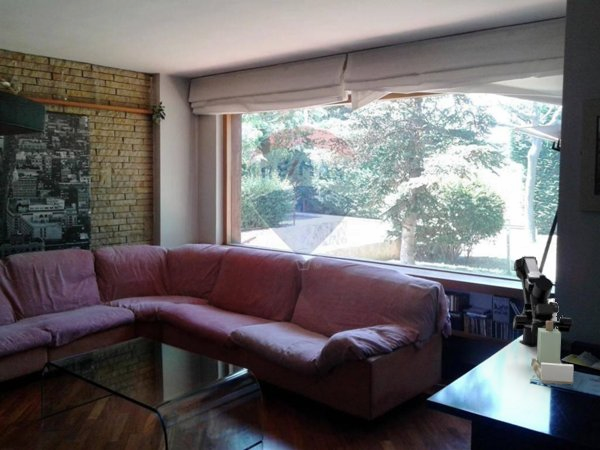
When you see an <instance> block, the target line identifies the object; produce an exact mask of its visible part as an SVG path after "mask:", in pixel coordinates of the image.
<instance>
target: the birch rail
mask: <svg viewBox="0 0 600 450" xmlns="http://www.w3.org/2000/svg"><path fill="white" fill-rule="evenodd" d="M530 364H531V367H532V369H533V371H534V372H535V374H536V376H537V375H538V376H537V377H539V378H538V379H539V381H540V383H541V382H545V383H544V384H550V383H555V384H554V385H562V384H573V385H574V381H573V382H565V381H552V380H541V367H540V365H539V364H538V362H537V358H536V357H532V358H531V362H530ZM560 364H564V363H563V362H562V361H561V360H560Z"/></svg>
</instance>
